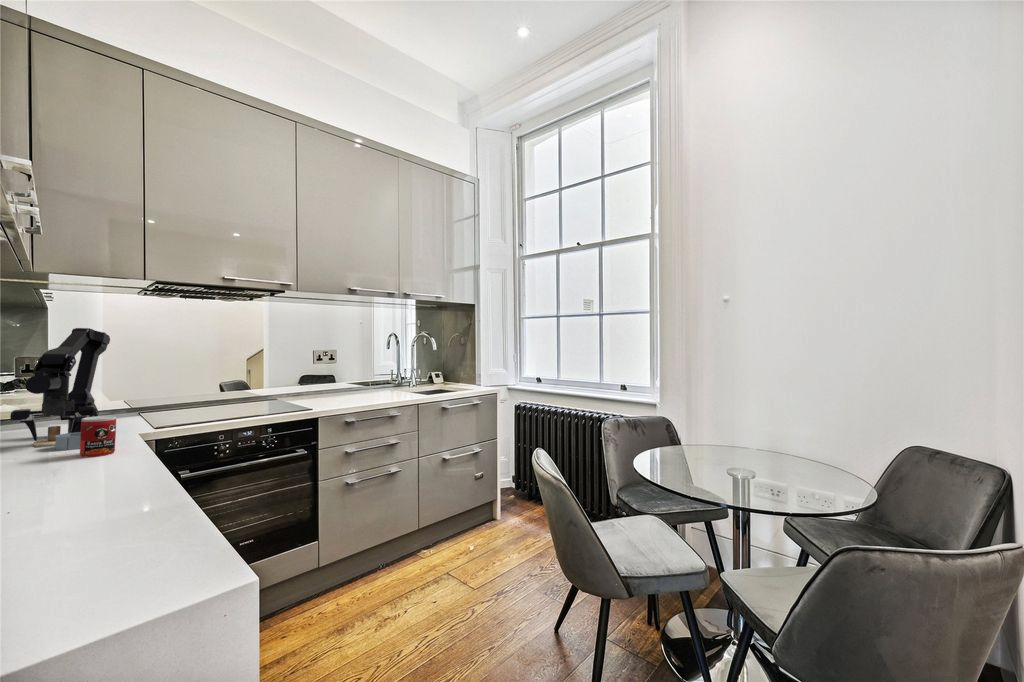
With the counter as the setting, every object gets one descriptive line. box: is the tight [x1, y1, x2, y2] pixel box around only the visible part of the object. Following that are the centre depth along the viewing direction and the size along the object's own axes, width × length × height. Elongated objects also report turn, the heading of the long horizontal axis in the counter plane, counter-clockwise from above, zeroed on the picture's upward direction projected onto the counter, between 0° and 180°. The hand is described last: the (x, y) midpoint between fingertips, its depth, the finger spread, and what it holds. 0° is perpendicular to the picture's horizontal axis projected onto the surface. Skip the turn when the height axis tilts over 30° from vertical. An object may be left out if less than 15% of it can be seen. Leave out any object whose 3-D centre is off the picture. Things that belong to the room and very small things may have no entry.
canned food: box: [79, 415, 117, 458], centre depth 129 cm, size 8×8×11 cm
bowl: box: [54, 432, 81, 451], centre depth 136 cm, size 9×9×4 cm
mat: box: [34, 446, 52, 449], centre depth 140 cm, size 10×8×1 cm
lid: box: [33, 425, 62, 447], centre depth 140 cm, size 9×9×6 cm
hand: (53, 439), depth 140 cm, fingers open, 8 cm apart
